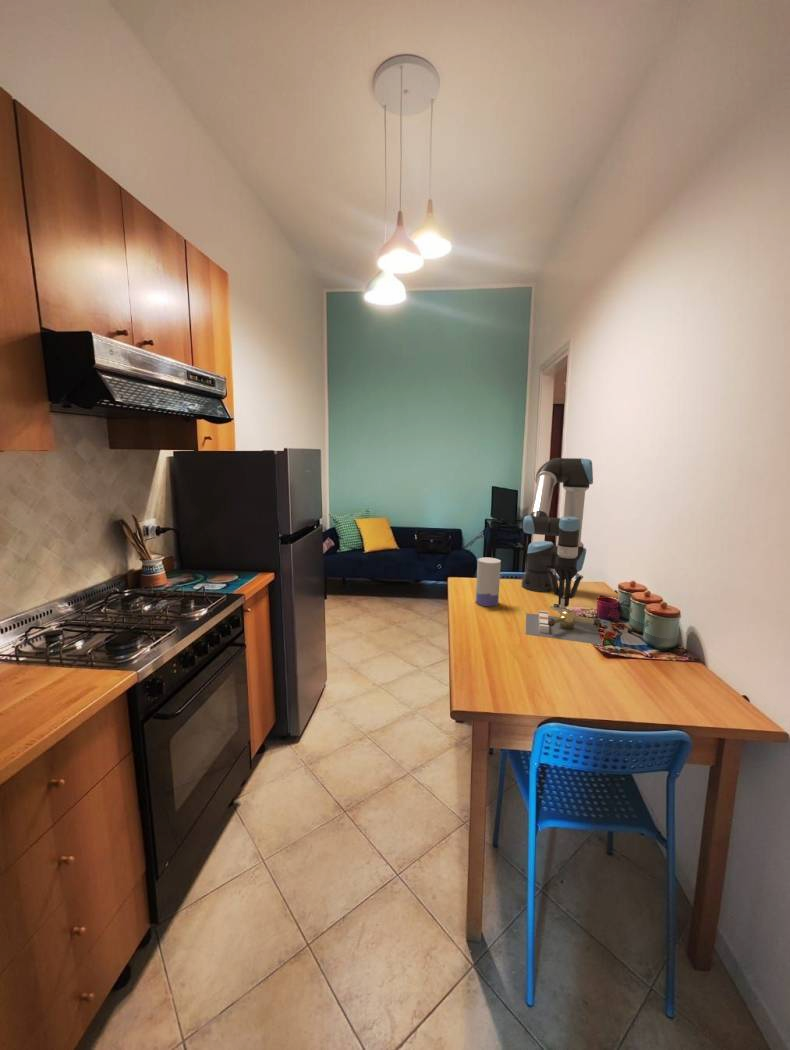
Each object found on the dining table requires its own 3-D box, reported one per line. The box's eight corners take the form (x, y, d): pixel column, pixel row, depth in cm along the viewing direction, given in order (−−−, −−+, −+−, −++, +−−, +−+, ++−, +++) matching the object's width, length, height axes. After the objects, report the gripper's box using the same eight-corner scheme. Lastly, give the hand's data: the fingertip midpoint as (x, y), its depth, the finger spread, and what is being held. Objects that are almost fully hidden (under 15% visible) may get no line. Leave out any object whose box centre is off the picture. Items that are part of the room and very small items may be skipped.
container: (496, 599, 196) (499, 557, 193) (499, 607, 186) (502, 563, 183) (474, 598, 197) (476, 556, 194) (476, 606, 187) (478, 562, 184)
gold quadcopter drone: (551, 614, 175) (553, 598, 174) (599, 623, 167) (601, 606, 166) (545, 632, 158) (546, 614, 156) (598, 642, 150) (600, 624, 149)
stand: (525, 615, 177) (526, 606, 177) (593, 624, 170) (594, 614, 169) (525, 637, 157) (526, 627, 156) (602, 648, 149) (604, 637, 148)
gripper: (547, 555, 169) (543, 611, 173) (580, 560, 161) (575, 620, 164) (554, 552, 175) (550, 607, 178) (587, 557, 166) (582, 614, 170)
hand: (562, 613), depth 171 cm, fingers closed
